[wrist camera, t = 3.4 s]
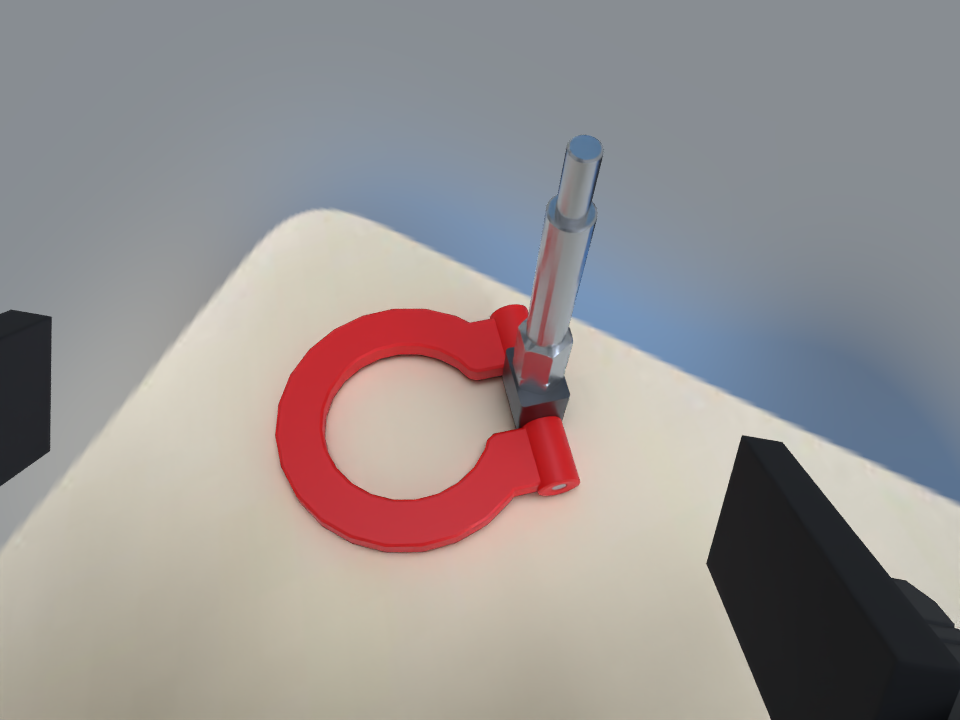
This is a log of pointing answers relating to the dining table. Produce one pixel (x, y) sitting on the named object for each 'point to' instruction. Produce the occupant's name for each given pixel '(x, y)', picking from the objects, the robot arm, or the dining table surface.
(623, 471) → the dining table surface
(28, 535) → the dining table surface
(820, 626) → the robot arm
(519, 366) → the tow hook
